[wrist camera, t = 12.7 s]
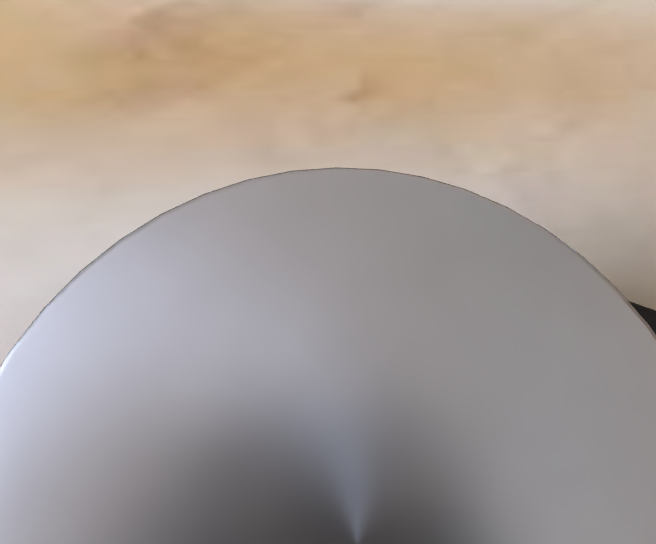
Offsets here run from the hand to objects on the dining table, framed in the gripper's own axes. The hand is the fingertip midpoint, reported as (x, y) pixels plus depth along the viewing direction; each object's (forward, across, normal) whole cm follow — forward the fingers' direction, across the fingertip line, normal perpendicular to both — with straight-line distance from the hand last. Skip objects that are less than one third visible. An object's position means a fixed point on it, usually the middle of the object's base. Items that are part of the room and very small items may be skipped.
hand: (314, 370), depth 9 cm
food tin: (+4, 0, +6) cm, 7 cm away
